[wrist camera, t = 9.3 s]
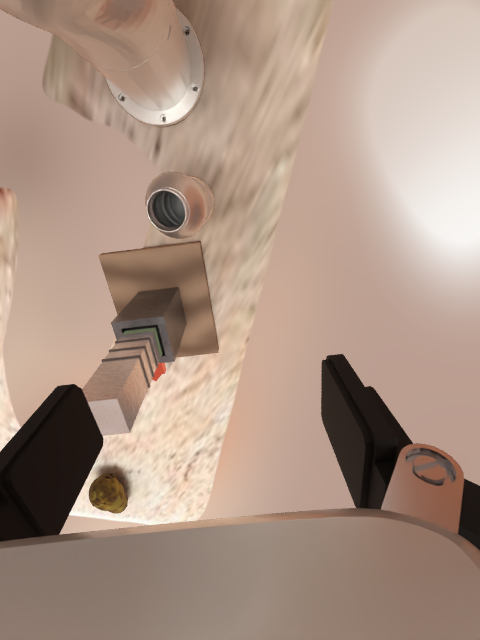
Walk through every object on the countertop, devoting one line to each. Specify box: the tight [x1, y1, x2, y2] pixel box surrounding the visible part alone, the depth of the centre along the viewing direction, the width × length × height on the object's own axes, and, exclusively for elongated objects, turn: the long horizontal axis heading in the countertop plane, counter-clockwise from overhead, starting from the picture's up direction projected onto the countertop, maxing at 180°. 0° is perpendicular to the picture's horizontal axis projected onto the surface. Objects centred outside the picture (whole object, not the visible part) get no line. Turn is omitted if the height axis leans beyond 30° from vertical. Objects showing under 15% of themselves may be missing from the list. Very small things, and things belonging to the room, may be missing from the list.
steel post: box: [82, 325, 164, 436], centre depth 34 cm, size 4×4×20 cm
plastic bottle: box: [145, 172, 214, 239], centre depth 34 cm, size 6×7×20 cm
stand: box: [99, 241, 219, 381], centre depth 44 cm, size 20×16×14 cm
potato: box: [89, 474, 128, 513], centre depth 65 cm, size 8×13×8 cm, turn 164°
